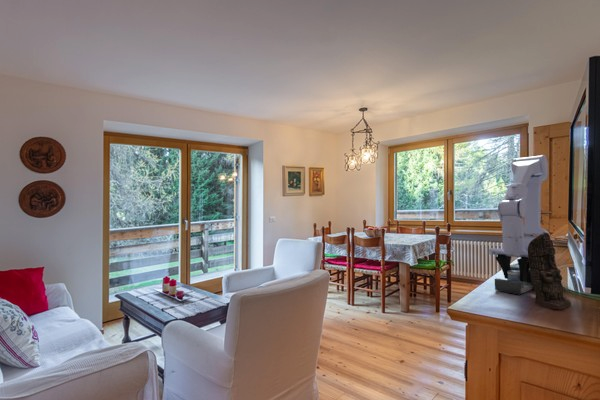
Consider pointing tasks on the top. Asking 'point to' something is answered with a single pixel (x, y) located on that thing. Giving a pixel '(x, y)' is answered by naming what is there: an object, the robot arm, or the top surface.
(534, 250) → the statue
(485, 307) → the top surface
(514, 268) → the player housing
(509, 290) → the tray
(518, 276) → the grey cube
